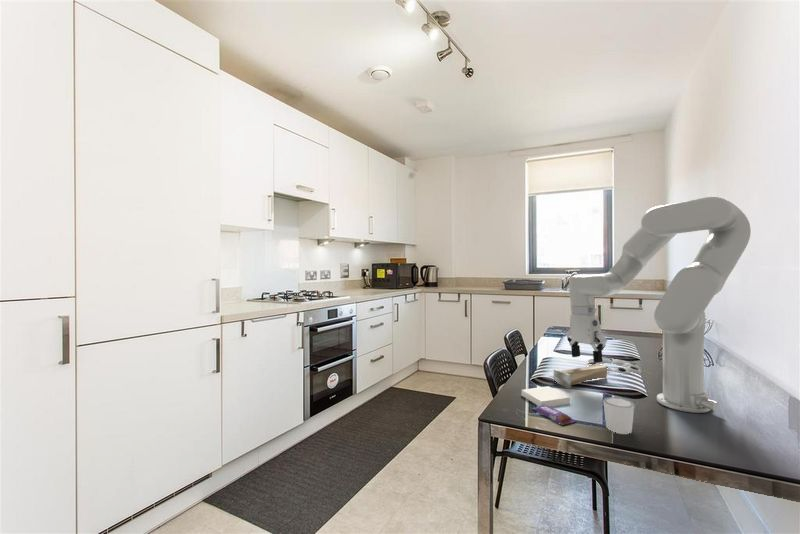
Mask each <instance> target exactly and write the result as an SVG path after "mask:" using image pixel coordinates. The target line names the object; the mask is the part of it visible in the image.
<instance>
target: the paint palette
mask: <svg viewBox="0 0 800 534" xmlns="http://www.w3.org/2000/svg"><path fill="white" fill-rule="evenodd" d="M602 360H603V361H602V362H599V363H594V359H593V358H592V359H588V360H587V361H588V362H589V363H586V365H589V364H592V365H589V366H596V365H600V364H601V363H602V364H603V363H613V365H615V364H616V365H617V366H622V367H616V368H614V369H612V367H609V366H608V365H605V366H606V367H607V368H608V369H607V371H612V370H614V371H615V372H619V373H630V372H633V373H632V374H641V373H642V370H641V366H639V365H638V364H636V363H633V362H627V361H626V360H623V359H619V358H618V359H617V358H616V359H613V360H611V359H610V358H607V357H605V358H603V357H602ZM624 367H625V368H624ZM618 369H620V370H618ZM622 370H625V371H622Z"/></svg>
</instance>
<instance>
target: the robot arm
mask: <svg viewBox="0 0 800 534" xmlns="http://www.w3.org/2000/svg"><path fill="white" fill-rule="evenodd" d="M640 220H641V222H640V223H641V224H640V225H641V226H640V227H639V228H638V229H637V230H636V231H635V232H634V233H633V234H632V235H631V236H630V237H629V239H627V241H626V242H625V243H624V244H623V246H622V250H621V251H622V252H621V256H620V257H619V259H618V260H617V262H616V263H615V264H614V265H613V266H612V267H611V268H610V269H609V270H608V271H607V272H605V273H600V274H599V273H598V274H594V275H588V274H587V275H586V274H582V275H581V274H580V275H571V276H569V279H568V286H569V287H568V288H569V300H570V301H569V303H570V311H571V313H570V317H569V318H570V319H569V330H568V331H566V332H565V336H566V338H567V342H568V343H569V346H570V347H571V348H570V349H571V357H572V358H579V357H581V349H580V348H581V346H580V345H579V344H580V343H581V344H584V345H590V346H591V347H592V349H593V351H592V359H594V363H599V362H602V361H603V360H602V358H603V352H602V351H603V350H604V348H605V347H606V346H607V345H606V344H607V343H608V339H607V338H606V337H605V336H604V335H603V334H602V328H601V327H602V326H601V323H600V320H599V316H598V314H596V312H597V308H596V306H595V297H597V298H599V297H600V298H602V297H603V298H604V297H610V296H612V295H616V294H619V293H620V292H621V291H623V290H624V289H625V288H626V287H627V286H628V285H629V284H630V283H632V281H633V280H634V279H635V278H637V276H638V275H639V274H640V273H641V271H642V270H643V269H644V268H645V267H646V265H647V264H648V263H649V262H650V260H651V259H653V258H654V257H655V255H657V253H659V251H661V250H662V248H664V247H665V246H666V245H667V244H668V243H669V242H670V241H671V240H672V239H673V238H674V237H675V236H676V235H677V234H681V233H682V234H685V233H692V232H699V231H706V230H707V231H708V236H707V238H706V240H705V242H704V243H703V245H701V247H700V249H699V250H698V253H697V254H696V257H695V258H694V259H693V261H692V263H690V265H688V266H685V267H683V268H682V269H681V270H679V271H678V272H677V273H676V274H675V276H674V277H673V279H672V280H671V282H670V284H669V285H668V286H667V289H666V290H665V292H664V294H663V296H662V297H661V298H660V301H659V302H658V304H657V306H656V308H655V310H654V314H653V316H654V317H653V318H654V321H655V324H656V325H657V326H658V328H659V329H661V330H662V392H661V393H658V394H657V395H656V401H657V402H658V403H659V404H660V405H662V406H665V407H666V408H669V409H673V410H676V411H681V412H686V413H695V414H696V413H697V414H702V413H708V412H711V411H713V412H716V411H718V407H719V402H718V401H716V400H712V399H709V393H707V392H705V377H704V376H705V369H704V367H705V366H704V365H705V363H704V362H705V361H704V360H705V358H704V354H705V328H706V312H705V311H706V309H707V308H708V306H709V305H710V303H711V302H712V300H713V298H714V297H715V295H718V294H719V292H721V291H722V289H723V288H724V286H725V284H726V282H727V280H728V278H729V277H730V275H731V273H732V272H733V270H734V268H735V267H736V265H737V263H738V261H739V260H740V258H741V256H742V255H743V253H744V251H745V250H746V248H747V246H748V244H749V241H750V239H751V224H750V221H749V219H748V217H747V216H746V214H745V213H744V212H743V211H742V209H740V208H739V207H738V206H737V205H735V204H734V203H733V202H731V201H729V200H727V199H725V198H722V197H719V196H706V197H700V198H695V199H690V200H685V201H680V202H675V203H669V204H665V205H663V204H662V205H658V206H654V207H651V208H650V209H648V210H647V211H646V212H645V213H644V214H643V215H642V218H641V219H640Z"/></svg>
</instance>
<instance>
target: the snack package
mask: <svg viewBox="0 0 800 534" xmlns="http://www.w3.org/2000/svg"><path fill="white" fill-rule="evenodd" d="M531 409H532V410H533V411H535V412H536V411H537V412H536V413H538V412H539V413H538V414H540V413H541V414H540V415H542V414H543V415H542V416H544V415H545V416H547V417H549V418H551V419H553V420H554V421H553V420H552V421H553V422H555V421H556V423H557V422H558V423H557V424H559V423H560V424H559V425H561V426H565V425H569V424H573V423H576V422H577V421H576V420H575V419H573V418H572V417H571V416H569V415H568V414H567V413H565V412H562V411H560V410H558V409H556V408H554V407H553V406H542V407H539V406H537V407H533V408H532V407H531ZM545 416H544V417H545ZM547 417H546V418H547ZM549 418H548V419H549ZM551 419H550V420H551Z"/></svg>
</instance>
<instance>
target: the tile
mask: <svg viewBox="0 0 800 534" xmlns="http://www.w3.org/2000/svg"><path fill="white" fill-rule="evenodd" d="M521 396H522V397H523V398H525V399H527V401H530V402H531V403H533V404H535V405H537V407H539V406H540V407H542V406H550V407H555V406H563V405H569V404H571V397H570V396H569V395H567V394H564V393H562V392H560V391H558V390H556V389H554V388H553V387H551V386H549V385H548V386H540V387H532V388H525V389H521Z"/></svg>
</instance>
